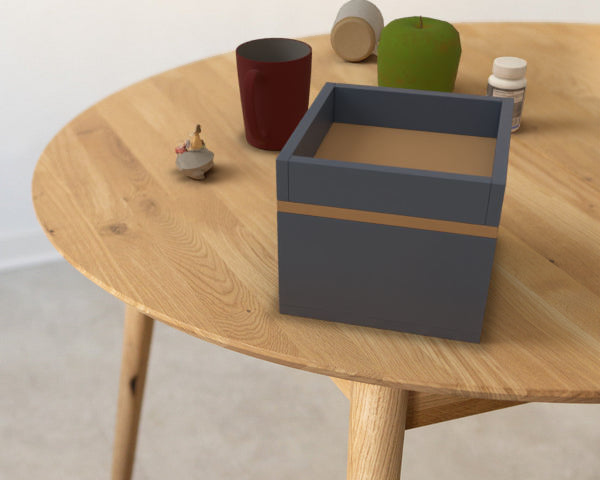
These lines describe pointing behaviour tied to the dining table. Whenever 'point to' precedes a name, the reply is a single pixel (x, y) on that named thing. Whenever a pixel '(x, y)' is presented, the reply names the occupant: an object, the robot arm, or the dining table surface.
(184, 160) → the figurine
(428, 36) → the apple
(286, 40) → the mug
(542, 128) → the dining table surface
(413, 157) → the box
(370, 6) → the ceramic mug
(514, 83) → the pill bottle
